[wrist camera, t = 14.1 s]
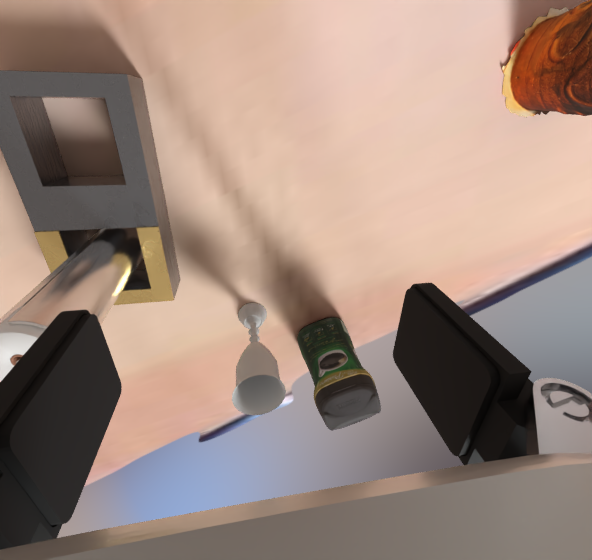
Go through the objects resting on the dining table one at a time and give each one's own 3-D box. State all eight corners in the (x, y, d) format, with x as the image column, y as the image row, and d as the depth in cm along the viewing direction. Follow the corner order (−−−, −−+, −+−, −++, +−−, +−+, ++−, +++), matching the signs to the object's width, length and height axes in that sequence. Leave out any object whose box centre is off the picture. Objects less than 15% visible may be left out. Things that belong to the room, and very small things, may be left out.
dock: (8, 75, 35) (-34, 69, 29) (142, 78, 37) (126, 73, 31) (84, 285, 48) (65, 308, 42) (180, 279, 50) (173, 300, 44)
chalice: (266, 333, 58) (277, 416, 42) (229, 328, 56) (226, 413, 40) (276, 300, 55) (292, 377, 39) (237, 294, 53) (238, 372, 37)
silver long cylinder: (101, 261, 46) (-17, 395, 25) (95, 218, 43) (-44, 328, 22) (148, 264, 48) (76, 393, 26) (146, 223, 45) (62, 331, 23)
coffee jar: (304, 357, 62) (328, 443, 46) (292, 328, 58) (313, 412, 42) (350, 340, 62) (390, 420, 46) (340, 310, 58) (380, 387, 42)
